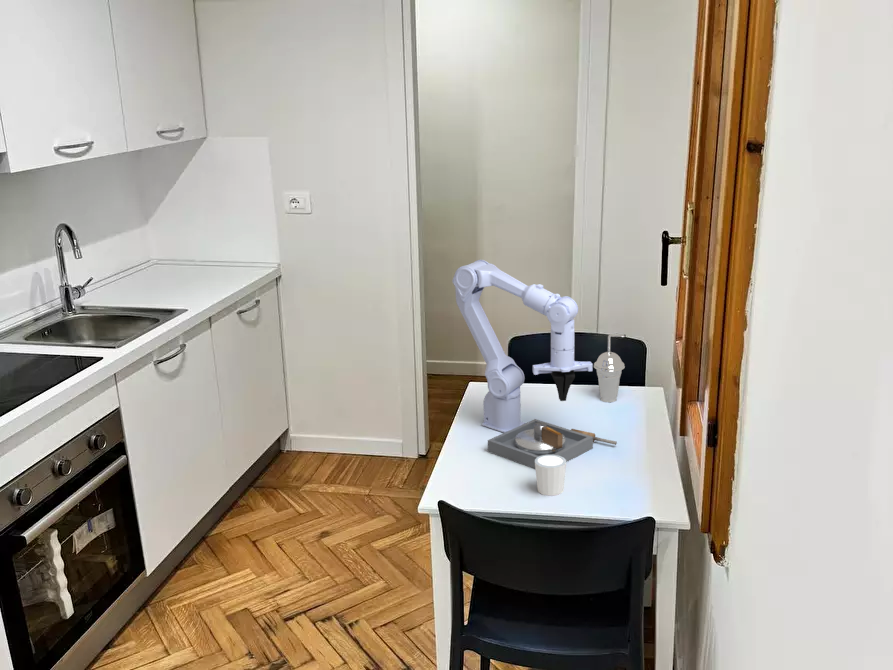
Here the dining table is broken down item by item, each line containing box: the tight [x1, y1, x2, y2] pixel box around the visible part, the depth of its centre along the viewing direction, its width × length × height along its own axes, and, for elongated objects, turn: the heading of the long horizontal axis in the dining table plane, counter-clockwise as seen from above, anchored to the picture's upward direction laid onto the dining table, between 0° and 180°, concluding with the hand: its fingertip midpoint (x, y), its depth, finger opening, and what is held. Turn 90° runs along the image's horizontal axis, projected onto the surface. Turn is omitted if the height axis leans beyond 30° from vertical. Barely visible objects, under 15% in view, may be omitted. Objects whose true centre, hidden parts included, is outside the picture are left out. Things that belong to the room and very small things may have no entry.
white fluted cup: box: [535, 455, 567, 497], centre depth 180 cm, size 7×7×7 cm
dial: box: [515, 422, 565, 455], centre depth 200 cm, size 14×12×5 cm
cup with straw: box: [593, 333, 626, 403], centre depth 230 cm, size 8×9×20 cm
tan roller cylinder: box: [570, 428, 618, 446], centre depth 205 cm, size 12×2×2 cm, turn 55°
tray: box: [487, 418, 594, 470], centre depth 201 cm, size 18×18×3 cm
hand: (562, 399), depth 206 cm, fingers closed
